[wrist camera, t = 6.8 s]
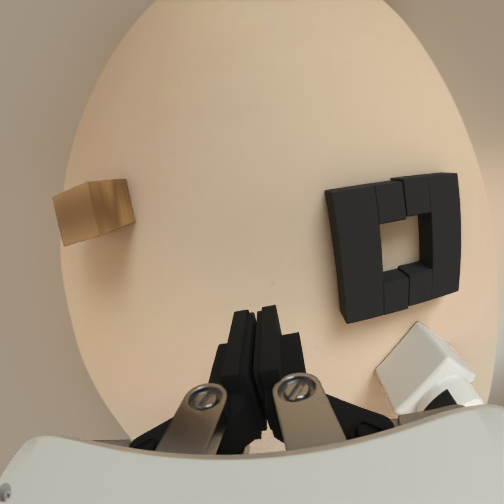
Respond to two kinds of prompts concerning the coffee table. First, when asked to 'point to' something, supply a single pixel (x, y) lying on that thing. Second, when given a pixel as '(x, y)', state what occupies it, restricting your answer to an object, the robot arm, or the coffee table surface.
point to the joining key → (93, 210)
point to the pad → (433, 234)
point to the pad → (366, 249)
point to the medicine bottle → (426, 374)
